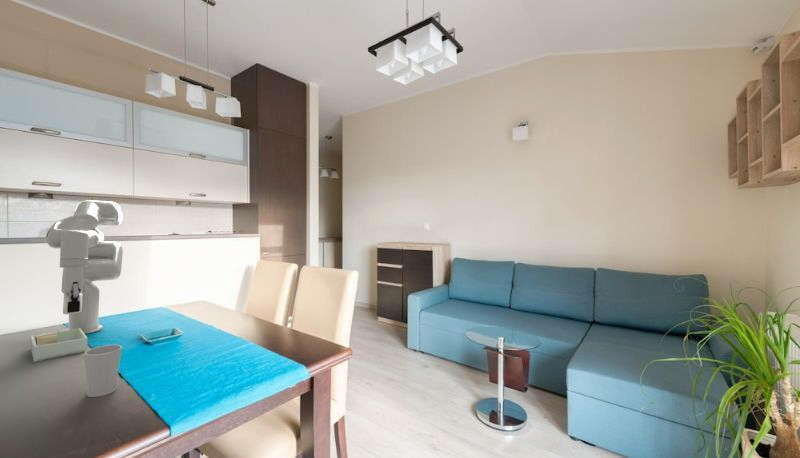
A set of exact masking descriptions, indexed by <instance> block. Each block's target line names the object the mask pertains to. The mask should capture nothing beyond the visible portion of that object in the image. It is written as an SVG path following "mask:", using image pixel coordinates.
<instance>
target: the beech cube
mask: <svg viewBox="0 0 800 458" xmlns="http://www.w3.org/2000/svg"><path fill="white" fill-rule="evenodd" d="M54 332H55V333H53V332H48V334H47V333H41V334H42V335H40V334H35V335H36V345H37V346H42V345H48V344H53V343H57V334H56V332H57V331H54Z"/></svg>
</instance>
